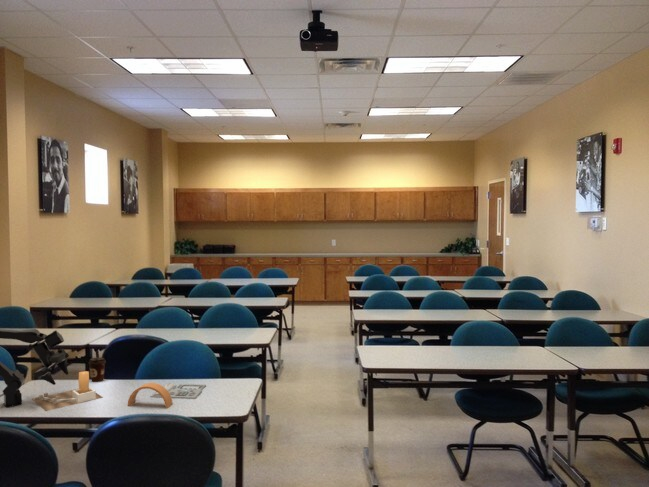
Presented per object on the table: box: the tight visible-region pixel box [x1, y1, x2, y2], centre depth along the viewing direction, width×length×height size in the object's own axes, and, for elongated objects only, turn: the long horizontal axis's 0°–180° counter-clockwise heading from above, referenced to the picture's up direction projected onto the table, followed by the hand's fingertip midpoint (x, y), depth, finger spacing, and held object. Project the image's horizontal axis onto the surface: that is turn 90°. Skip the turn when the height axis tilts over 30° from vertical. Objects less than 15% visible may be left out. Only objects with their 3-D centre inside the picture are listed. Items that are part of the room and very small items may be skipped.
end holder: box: [72, 386, 97, 404], centre depth 253 cm, size 8×8×4 cm
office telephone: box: [149, 383, 207, 400], centre depth 266 cm, size 23×3×20 cm
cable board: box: [31, 388, 104, 412], centre depth 254 cm, size 26×22×4 cm
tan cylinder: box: [78, 370, 90, 394], centre depth 252 cm, size 4×4×12 cm
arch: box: [127, 382, 173, 409], centre depth 247 cm, size 6×20×10 cm, turn 81°
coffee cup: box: [88, 357, 107, 383], centre depth 281 cm, size 9×8×13 cm
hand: (61, 379), depth 254 cm, fingers open, 9 cm apart
